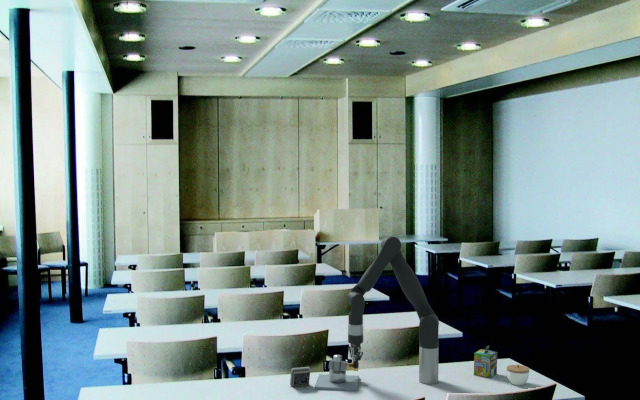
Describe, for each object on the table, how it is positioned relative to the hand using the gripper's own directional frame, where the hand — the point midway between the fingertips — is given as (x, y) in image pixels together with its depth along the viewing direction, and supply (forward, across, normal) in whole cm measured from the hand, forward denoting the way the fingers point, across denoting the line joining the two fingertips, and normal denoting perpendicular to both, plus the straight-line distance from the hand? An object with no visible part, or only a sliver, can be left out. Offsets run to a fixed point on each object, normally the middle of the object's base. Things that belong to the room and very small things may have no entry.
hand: (355, 368), depth 349 cm
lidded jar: (+8, -30, -73) cm, 79 cm away
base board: (+7, +1, +9) cm, 12 cm away
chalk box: (+8, -12, -67) cm, 68 cm away
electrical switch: (+7, +3, +27) cm, 28 cm away
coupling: (+1, +1, +6) cm, 6 cm away
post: (+6, +1, +9) cm, 11 cm away
